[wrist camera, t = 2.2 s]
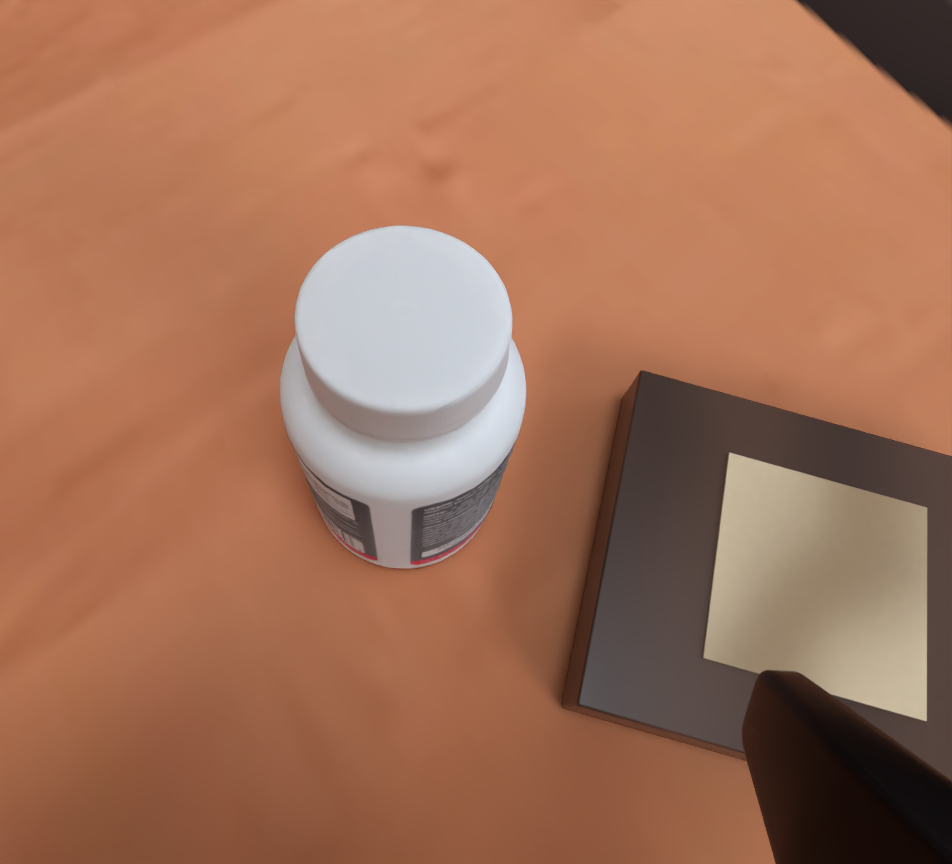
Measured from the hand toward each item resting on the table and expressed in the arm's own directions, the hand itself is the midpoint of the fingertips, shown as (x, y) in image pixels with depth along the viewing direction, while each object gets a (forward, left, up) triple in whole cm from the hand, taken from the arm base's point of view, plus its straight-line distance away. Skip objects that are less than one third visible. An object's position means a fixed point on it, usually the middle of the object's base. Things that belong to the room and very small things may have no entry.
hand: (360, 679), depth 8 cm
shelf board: (+12, -3, -12) cm, 18 cm away
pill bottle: (+3, +5, -13) cm, 14 cm away
